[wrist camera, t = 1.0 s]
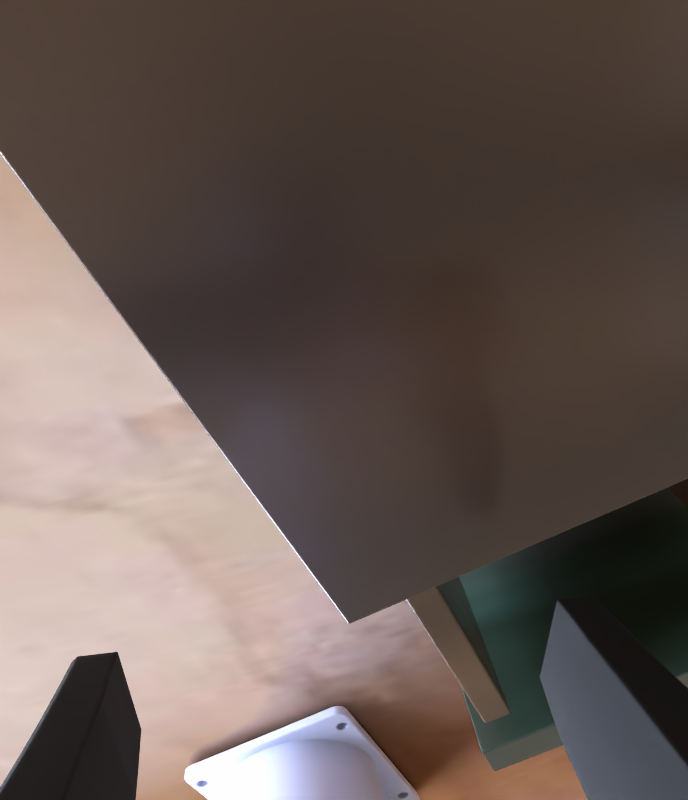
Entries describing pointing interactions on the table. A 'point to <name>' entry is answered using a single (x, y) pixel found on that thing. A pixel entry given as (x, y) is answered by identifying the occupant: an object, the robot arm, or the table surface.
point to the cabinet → (384, 252)
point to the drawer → (535, 605)
